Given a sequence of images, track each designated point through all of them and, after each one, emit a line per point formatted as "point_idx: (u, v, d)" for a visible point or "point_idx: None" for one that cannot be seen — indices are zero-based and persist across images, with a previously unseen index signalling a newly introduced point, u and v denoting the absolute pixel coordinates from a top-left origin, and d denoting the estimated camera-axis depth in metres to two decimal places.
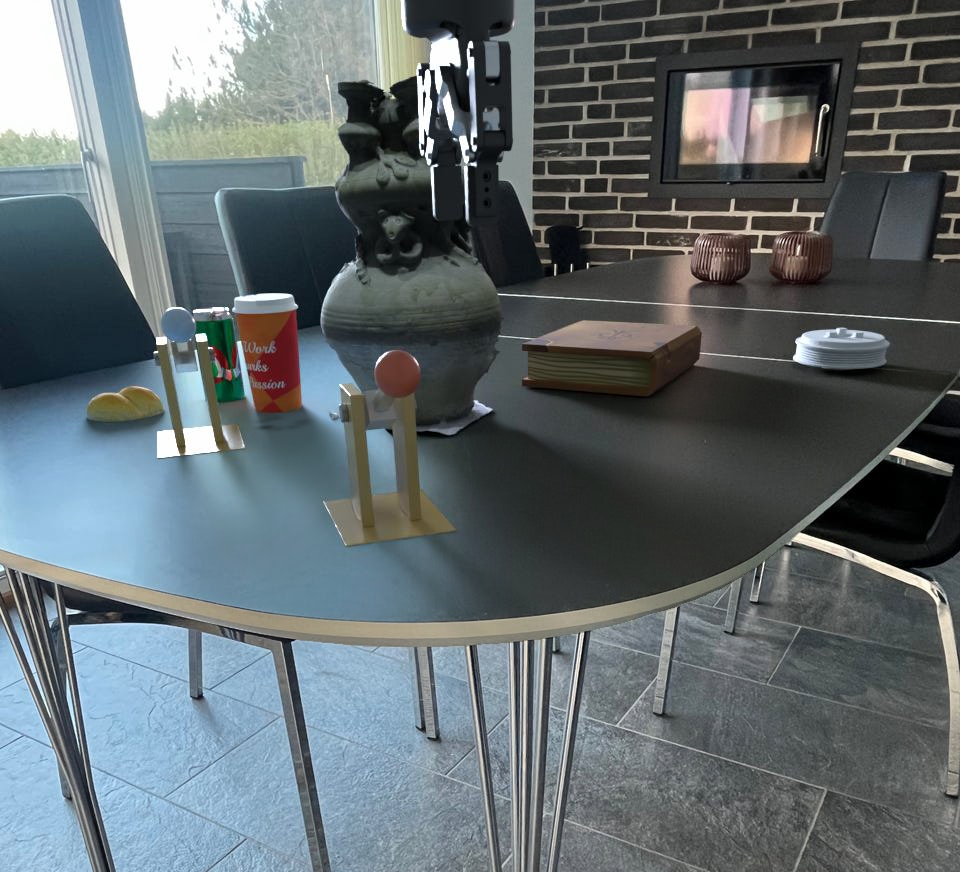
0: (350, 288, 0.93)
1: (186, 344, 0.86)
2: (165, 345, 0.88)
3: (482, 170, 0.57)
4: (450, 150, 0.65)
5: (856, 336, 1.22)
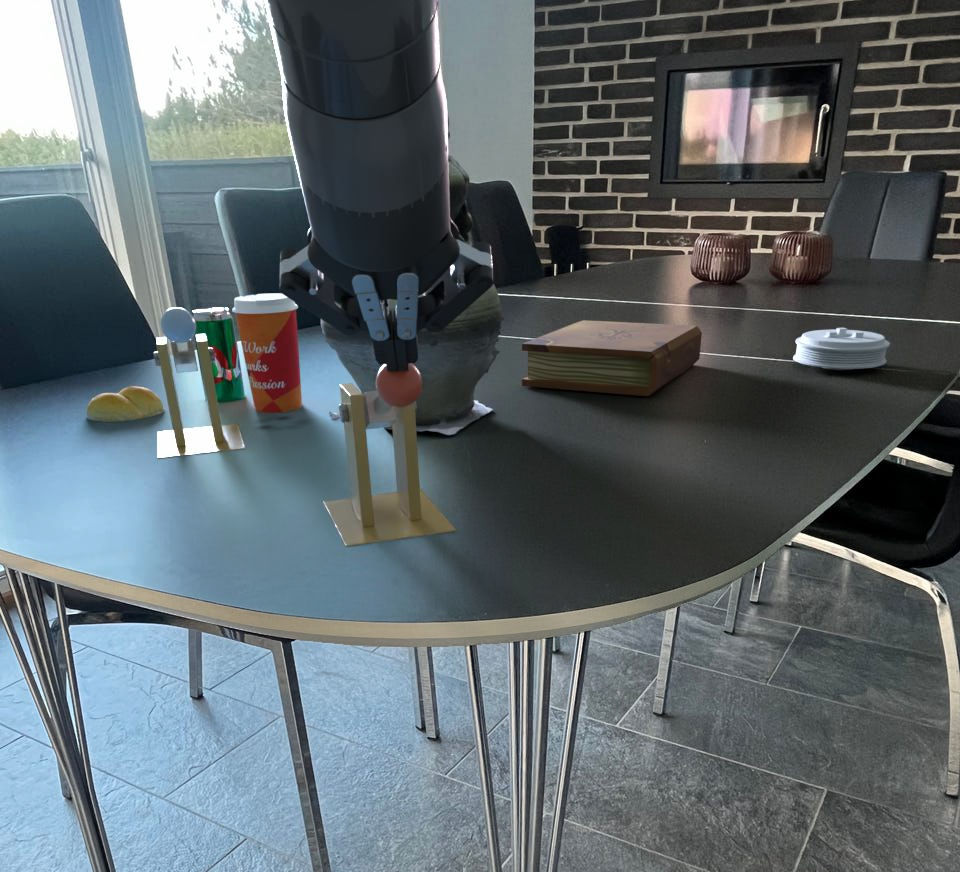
0: None
1: (186, 344, 0.86)
2: (165, 345, 0.88)
3: None
4: (387, 310, 0.54)
5: (856, 336, 1.22)
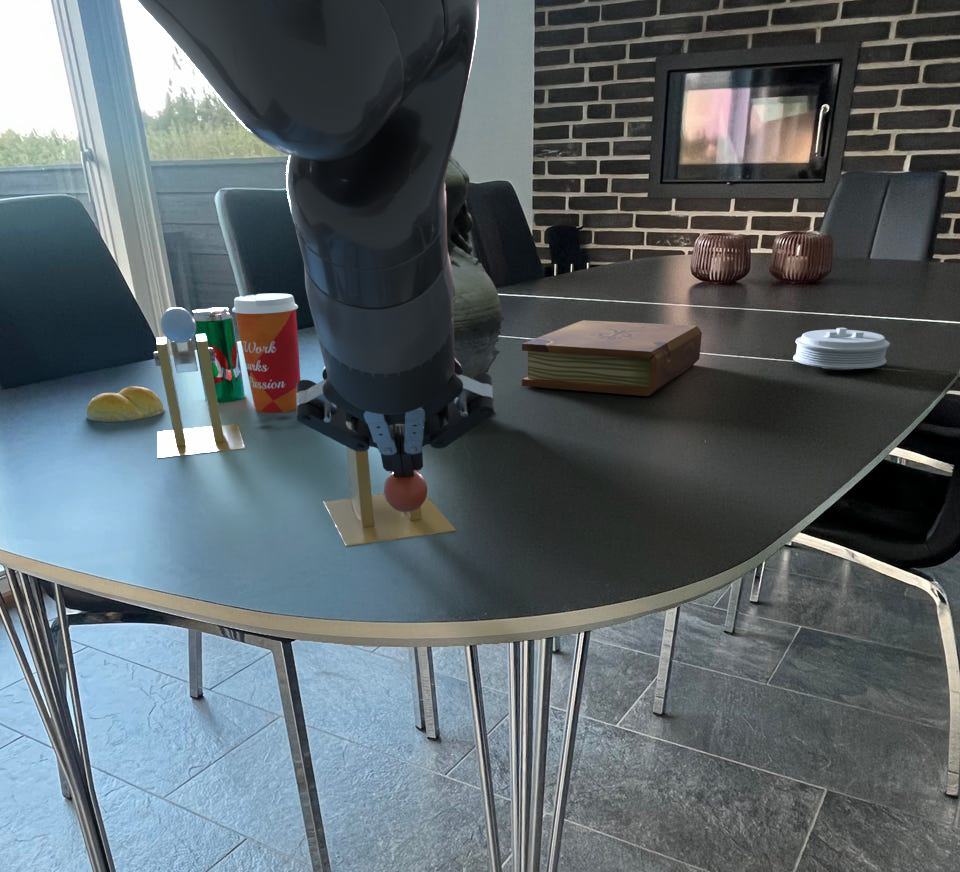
0: None
1: (186, 344, 0.86)
2: (165, 345, 0.88)
3: None
4: (394, 427, 0.58)
5: (856, 336, 1.22)
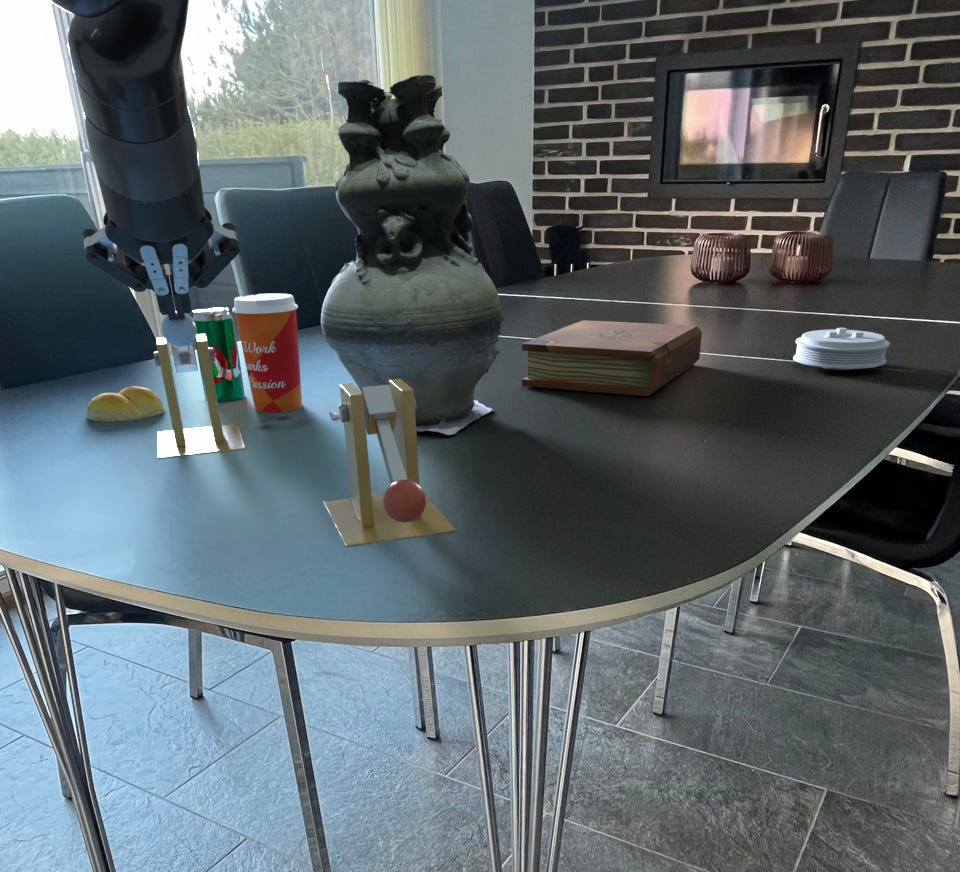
0: (351, 288, 0.93)
1: (186, 346, 0.86)
2: (165, 345, 0.88)
3: None
4: (164, 273, 0.76)
5: (856, 336, 1.22)
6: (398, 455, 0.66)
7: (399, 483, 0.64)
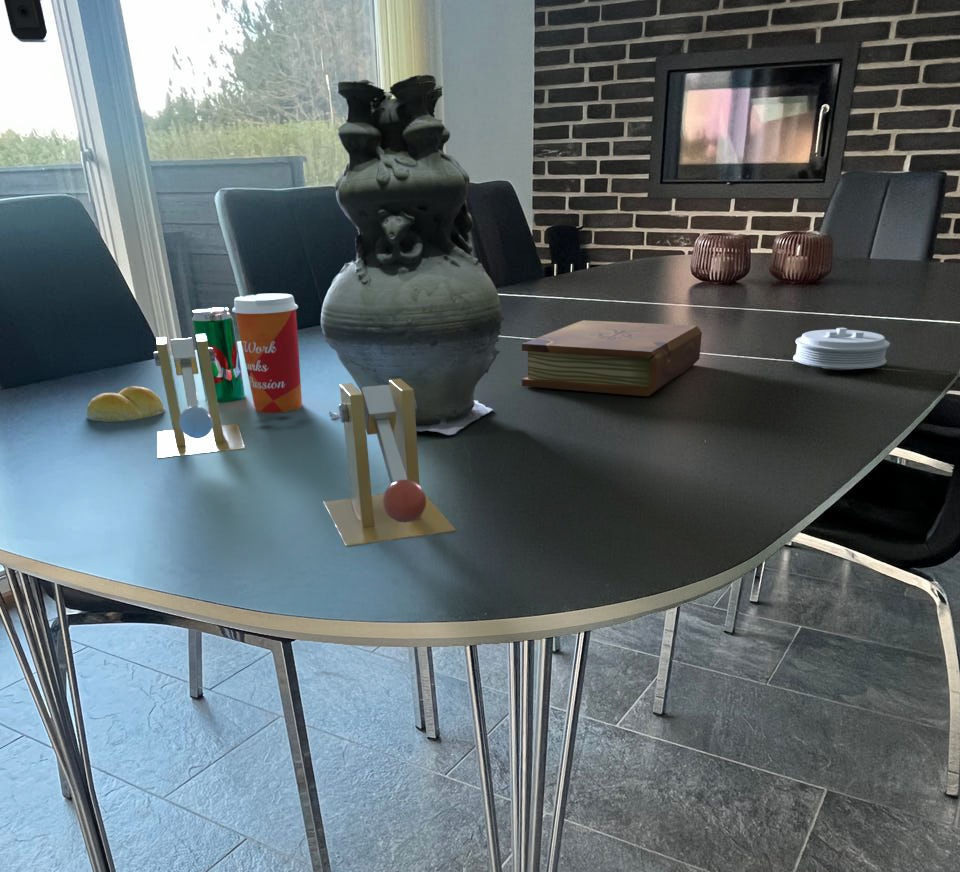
0: (351, 288, 0.93)
1: None
2: (165, 345, 0.88)
3: None
4: None
5: (856, 336, 1.22)
6: (398, 455, 0.66)
7: (399, 483, 0.64)
